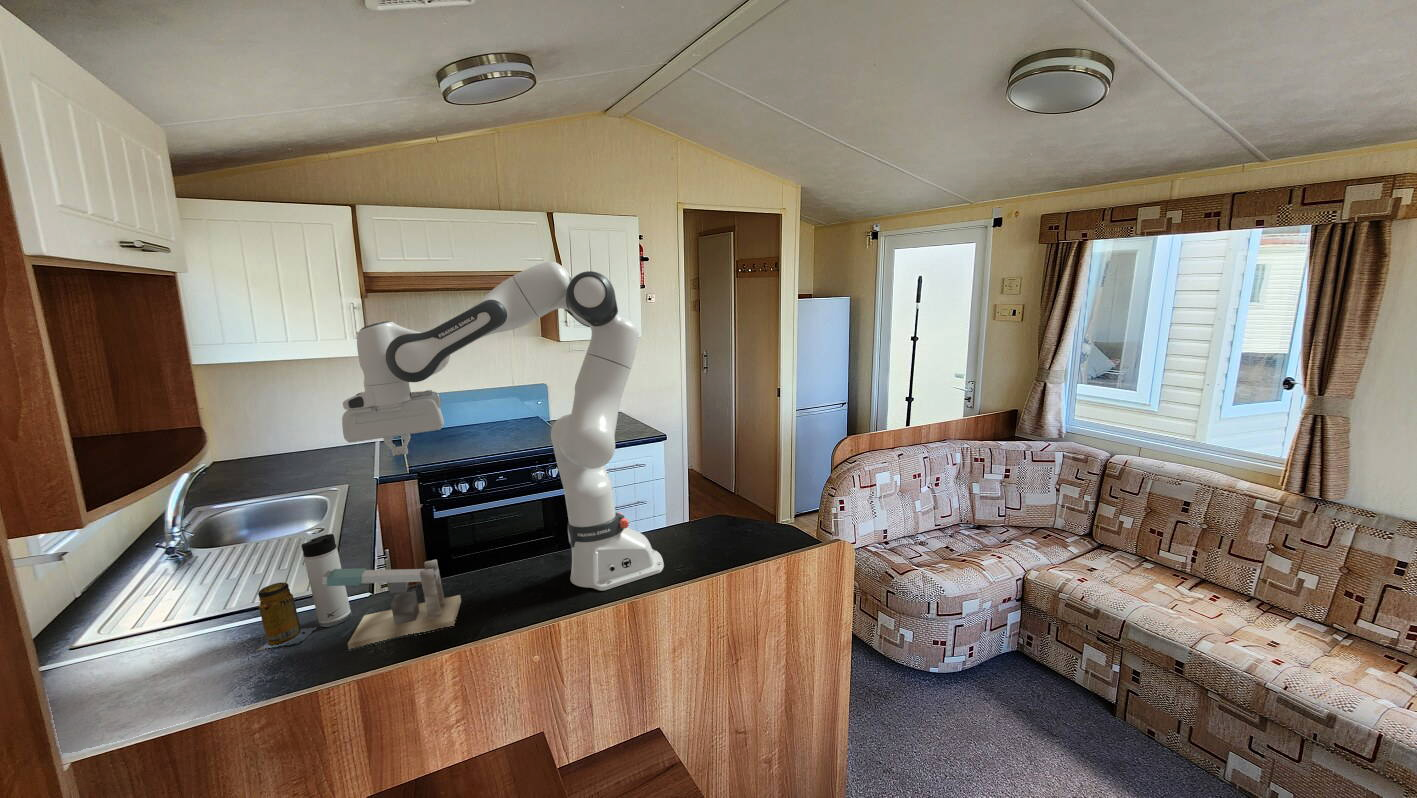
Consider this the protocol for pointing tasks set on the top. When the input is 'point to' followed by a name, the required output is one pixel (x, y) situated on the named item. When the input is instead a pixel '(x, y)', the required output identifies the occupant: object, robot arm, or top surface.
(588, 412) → the robot arm
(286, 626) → the condiment
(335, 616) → the travel mug
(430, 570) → the press base
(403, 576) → the press lever
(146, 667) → the top surface
